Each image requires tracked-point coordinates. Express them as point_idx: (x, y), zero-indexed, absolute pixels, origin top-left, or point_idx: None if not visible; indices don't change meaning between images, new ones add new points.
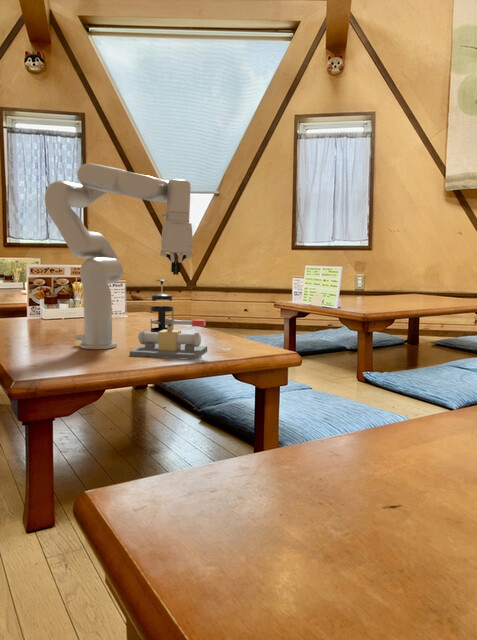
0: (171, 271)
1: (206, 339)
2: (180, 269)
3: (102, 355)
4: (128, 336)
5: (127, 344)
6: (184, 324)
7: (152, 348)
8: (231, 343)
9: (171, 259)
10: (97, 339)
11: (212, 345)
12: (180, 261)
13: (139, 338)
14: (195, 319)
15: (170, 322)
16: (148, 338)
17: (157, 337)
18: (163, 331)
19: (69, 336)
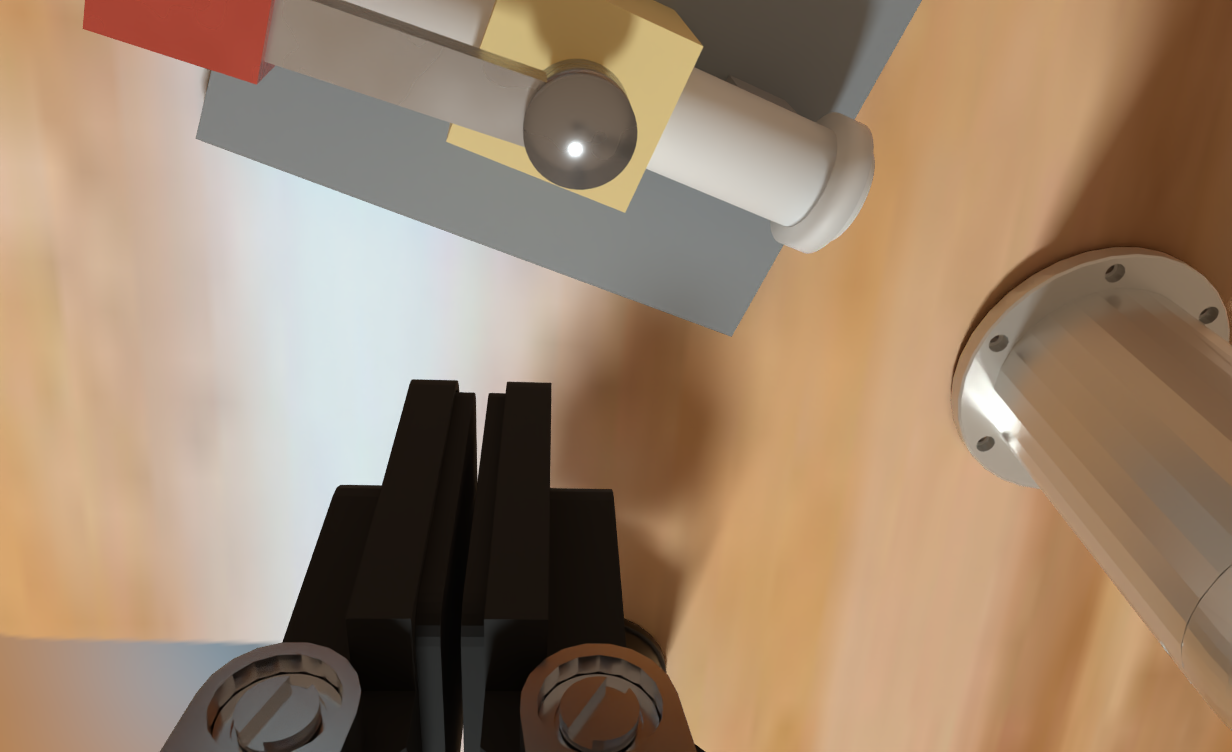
0: (607, 491)
1: (241, 590)
2: (324, 520)
3: (1140, 6)
4: (806, 698)
5: (859, 439)
6: (393, 18)
7: (721, 79)
8: (6, 429)
9: (661, 742)
10: (1154, 311)
11: (174, 356)
12: (258, 691)
13: (861, 123)
14: (232, 58)
15: (571, 67)
16: (778, 106)
17: (696, 71)
18: (643, 73)
19: (1166, 702)
